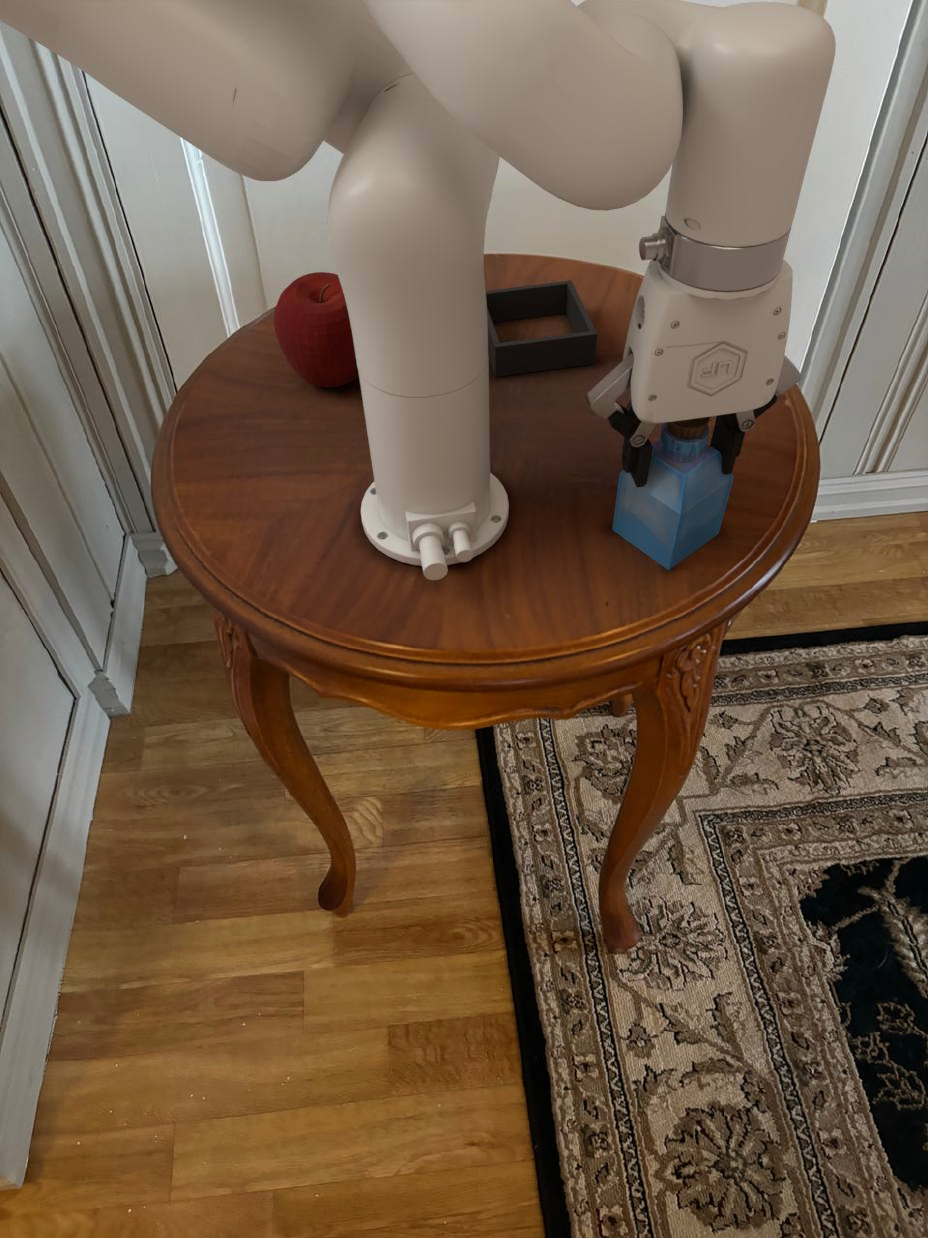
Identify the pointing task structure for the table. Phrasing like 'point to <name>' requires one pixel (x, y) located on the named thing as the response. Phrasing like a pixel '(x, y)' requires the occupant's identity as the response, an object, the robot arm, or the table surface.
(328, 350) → the apple
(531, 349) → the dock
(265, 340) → the table surface
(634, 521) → the perfume bottle
